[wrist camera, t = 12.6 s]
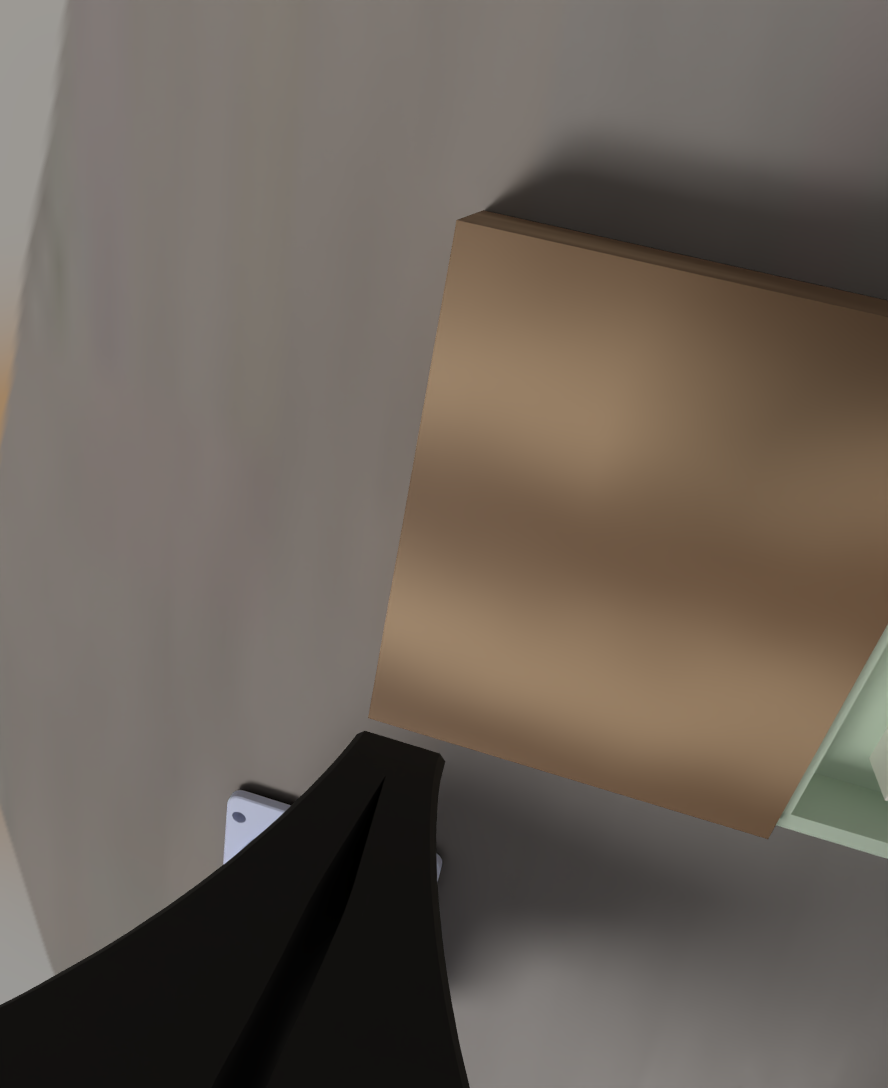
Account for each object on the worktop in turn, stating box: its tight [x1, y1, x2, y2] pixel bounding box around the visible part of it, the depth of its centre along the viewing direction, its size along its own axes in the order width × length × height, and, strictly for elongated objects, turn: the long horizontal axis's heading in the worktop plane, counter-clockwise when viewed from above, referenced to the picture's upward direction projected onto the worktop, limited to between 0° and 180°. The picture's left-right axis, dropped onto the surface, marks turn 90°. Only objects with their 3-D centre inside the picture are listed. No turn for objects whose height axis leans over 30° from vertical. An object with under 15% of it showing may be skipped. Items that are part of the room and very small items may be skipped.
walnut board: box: [368, 210, 888, 839], centre depth 19 cm, size 13×11×3 cm
